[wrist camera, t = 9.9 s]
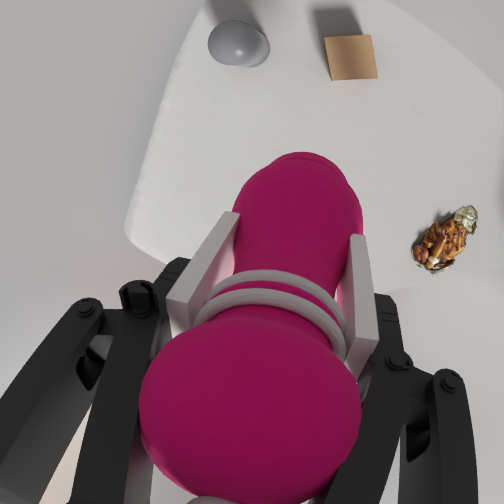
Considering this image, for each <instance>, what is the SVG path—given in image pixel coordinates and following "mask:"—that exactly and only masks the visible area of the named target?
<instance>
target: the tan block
mask: <svg viewBox="0 0 504 504" xmlns="http://www.w3.org/2000/svg"><path fill="white" fill-rule="evenodd" d="M324 43H325V48H326V53H327V59H328V64H329V70H330V76H331V81H334V80H349V79H375V78H378V75H377V69H376V62H375V56H374V50H373V44H372V39H371V35H352V36H334V37H324Z"/></svg>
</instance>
